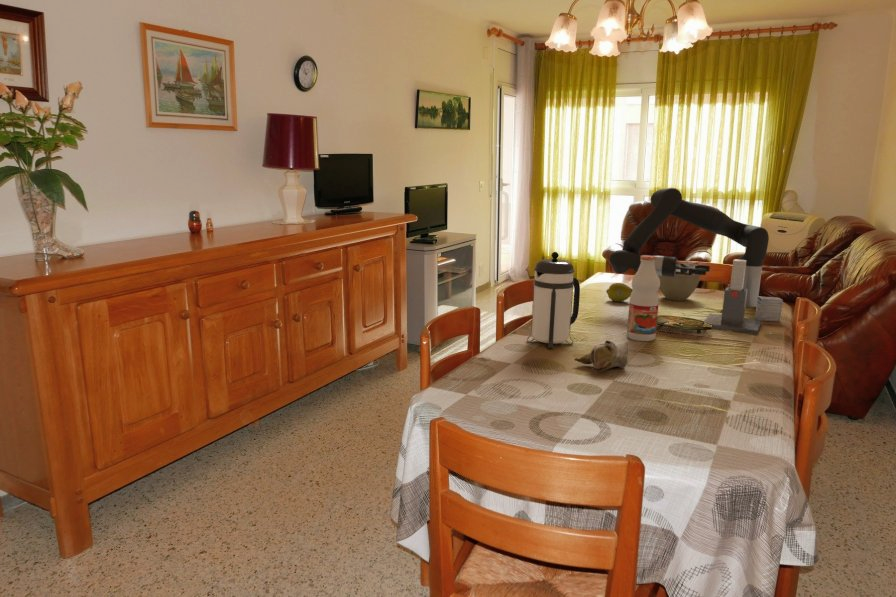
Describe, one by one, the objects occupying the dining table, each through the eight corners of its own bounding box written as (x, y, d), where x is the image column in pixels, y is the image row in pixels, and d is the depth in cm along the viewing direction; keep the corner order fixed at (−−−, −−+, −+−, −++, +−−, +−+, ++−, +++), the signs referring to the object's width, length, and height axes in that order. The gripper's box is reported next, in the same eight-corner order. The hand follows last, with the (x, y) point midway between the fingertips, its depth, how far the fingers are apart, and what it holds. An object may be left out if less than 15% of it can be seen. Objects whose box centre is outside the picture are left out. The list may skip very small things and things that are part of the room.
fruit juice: (644, 333, 226) (652, 253, 220) (661, 340, 217) (669, 258, 211) (621, 335, 223) (627, 254, 217) (636, 342, 215) (644, 258, 209)
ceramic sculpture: (639, 342, 184) (594, 349, 179) (638, 371, 186) (593, 379, 181) (616, 332, 193) (573, 339, 188) (616, 360, 196) (573, 368, 190)
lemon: (603, 301, 274) (605, 283, 272) (607, 298, 281) (609, 280, 279) (629, 305, 269) (631, 286, 268) (633, 301, 276) (635, 282, 275)
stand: (702, 327, 237) (706, 290, 234) (709, 317, 252) (713, 282, 249) (756, 334, 228) (761, 297, 225) (760, 323, 243) (765, 288, 240)
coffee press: (576, 352, 203) (582, 256, 196) (524, 347, 206) (529, 254, 199) (576, 337, 219) (582, 249, 213) (529, 333, 223) (533, 246, 216)
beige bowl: (645, 295, 289) (648, 268, 286) (680, 293, 294) (683, 267, 292) (670, 304, 272) (673, 275, 269) (707, 302, 277) (710, 274, 275)
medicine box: (775, 319, 251) (778, 297, 249) (780, 322, 247) (783, 299, 245) (754, 318, 252) (757, 296, 250) (758, 321, 248) (761, 298, 246)
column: (725, 319, 239) (732, 260, 234) (727, 316, 242) (734, 259, 238) (738, 320, 237) (745, 261, 232) (739, 318, 240) (746, 260, 235)
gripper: (659, 258, 241) (706, 263, 234) (667, 254, 254) (711, 257, 246) (657, 278, 243) (703, 283, 235) (665, 272, 255) (709, 277, 248)
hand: (707, 270), depth 241 cm, fingers open, 8 cm apart
